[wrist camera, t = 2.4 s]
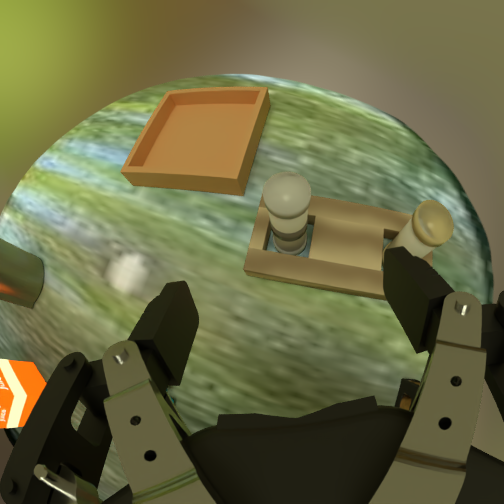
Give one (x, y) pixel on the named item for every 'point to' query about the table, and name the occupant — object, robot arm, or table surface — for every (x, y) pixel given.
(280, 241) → the white domed cylinder
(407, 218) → the fuse block
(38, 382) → the orange juice
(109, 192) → the table surface
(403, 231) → the fuse
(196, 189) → the parts tray
